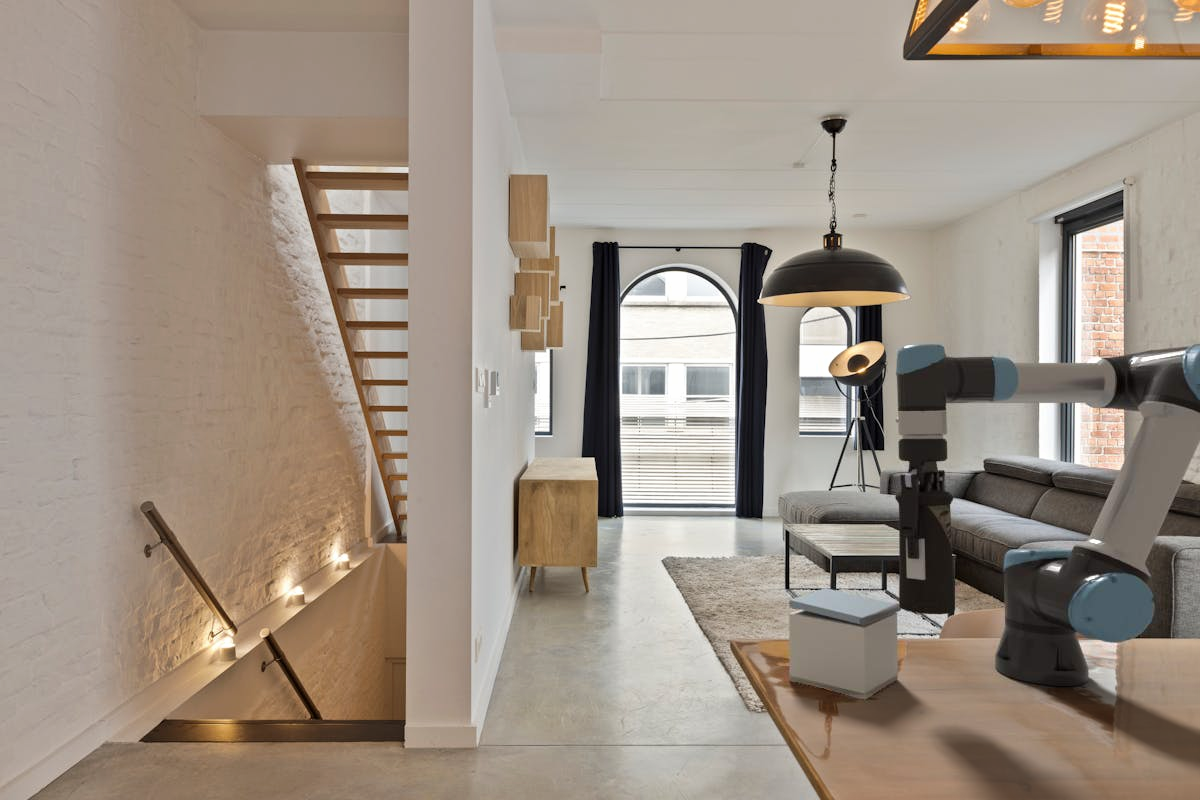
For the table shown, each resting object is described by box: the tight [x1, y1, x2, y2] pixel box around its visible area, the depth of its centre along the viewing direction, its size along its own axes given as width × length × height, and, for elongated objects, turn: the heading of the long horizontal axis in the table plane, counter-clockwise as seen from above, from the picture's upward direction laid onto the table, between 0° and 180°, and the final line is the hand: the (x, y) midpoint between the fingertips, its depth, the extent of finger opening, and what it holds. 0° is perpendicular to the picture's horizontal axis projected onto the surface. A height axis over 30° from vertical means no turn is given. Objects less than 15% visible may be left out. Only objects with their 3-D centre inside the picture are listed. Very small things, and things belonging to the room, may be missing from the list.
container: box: [894, 489, 956, 615], centre depth 129 cm, size 9×9×20 cm
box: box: [788, 609, 899, 701], centre depth 140 cm, size 14×14×12 cm
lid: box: [788, 587, 902, 626], centre depth 140 cm, size 15×14×1 cm
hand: (925, 574), depth 129 cm, fingers closed on container, 8 cm apart
